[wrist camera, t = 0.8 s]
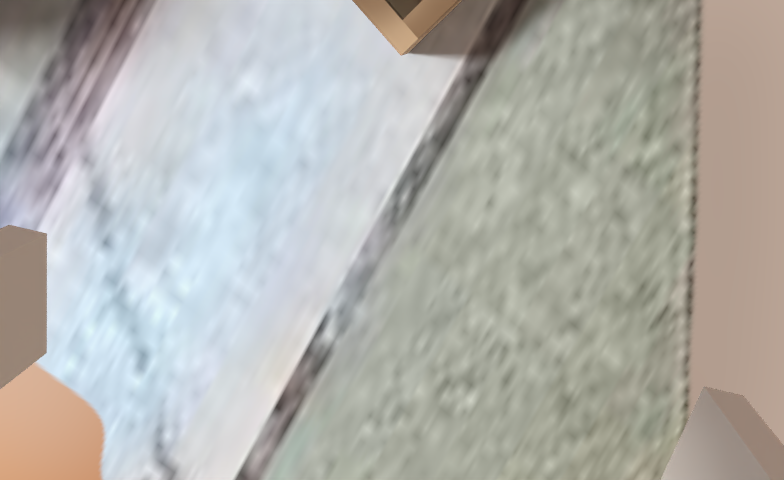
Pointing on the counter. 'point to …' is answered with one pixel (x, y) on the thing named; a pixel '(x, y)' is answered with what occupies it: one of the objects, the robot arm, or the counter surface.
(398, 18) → the bay
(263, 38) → the counter surface
